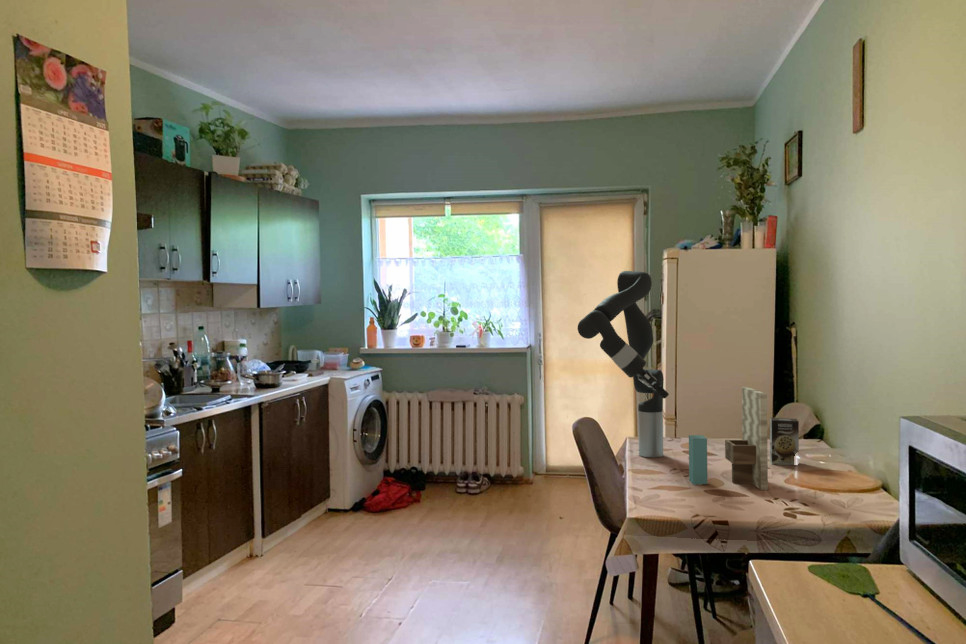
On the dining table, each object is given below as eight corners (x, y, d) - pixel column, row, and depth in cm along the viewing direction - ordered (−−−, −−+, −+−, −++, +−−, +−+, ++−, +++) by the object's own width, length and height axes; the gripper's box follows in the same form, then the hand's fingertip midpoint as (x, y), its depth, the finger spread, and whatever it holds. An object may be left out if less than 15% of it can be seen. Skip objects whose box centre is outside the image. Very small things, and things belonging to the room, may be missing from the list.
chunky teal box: (689, 480, 221) (688, 435, 221) (703, 480, 221) (702, 435, 221) (693, 484, 216) (692, 438, 215) (707, 484, 216) (707, 438, 215)
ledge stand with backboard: (721, 475, 227) (720, 387, 226) (748, 475, 226) (747, 386, 225) (738, 490, 209) (737, 394, 208) (767, 490, 208) (766, 394, 207)
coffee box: (771, 464, 240) (771, 420, 240) (769, 460, 246) (769, 417, 246) (799, 466, 237) (799, 421, 237) (797, 462, 243) (796, 418, 243)
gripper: (640, 353, 211) (677, 389, 211) (632, 350, 226) (666, 384, 225) (623, 370, 212) (660, 406, 212) (616, 366, 226) (650, 400, 226)
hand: (663, 394), depth 218 cm, fingers open, 8 cm apart
